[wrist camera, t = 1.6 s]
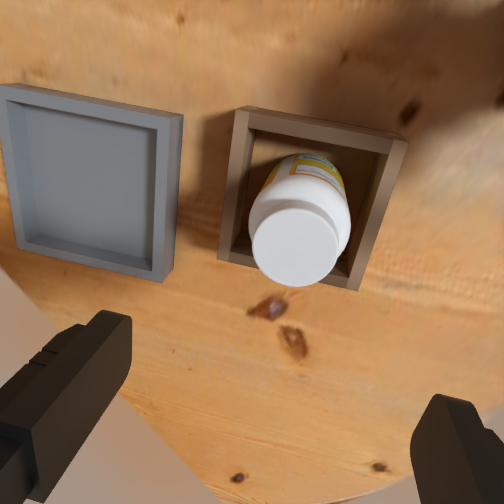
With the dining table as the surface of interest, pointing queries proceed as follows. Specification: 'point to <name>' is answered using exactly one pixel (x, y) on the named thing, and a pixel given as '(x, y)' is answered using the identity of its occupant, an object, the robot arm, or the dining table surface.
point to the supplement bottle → (300, 221)
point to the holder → (385, 143)
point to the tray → (92, 179)
